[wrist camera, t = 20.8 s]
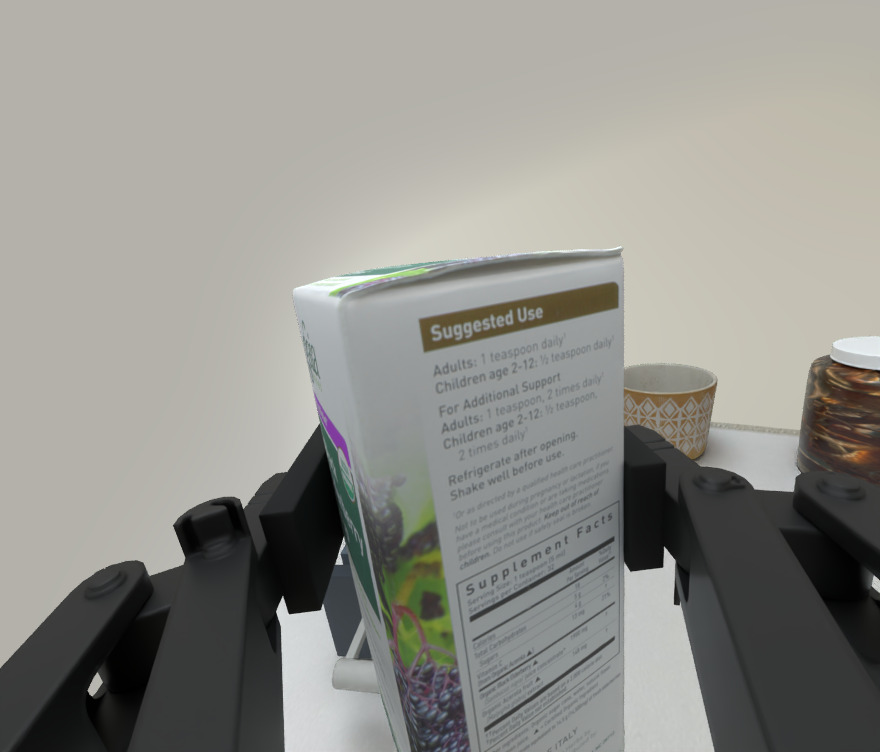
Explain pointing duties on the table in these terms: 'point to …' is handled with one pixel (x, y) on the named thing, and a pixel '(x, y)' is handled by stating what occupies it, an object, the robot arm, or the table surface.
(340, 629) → the drawer
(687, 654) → the table surface
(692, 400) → the planter
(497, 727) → the syrup box
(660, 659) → the table surface
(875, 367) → the jar
